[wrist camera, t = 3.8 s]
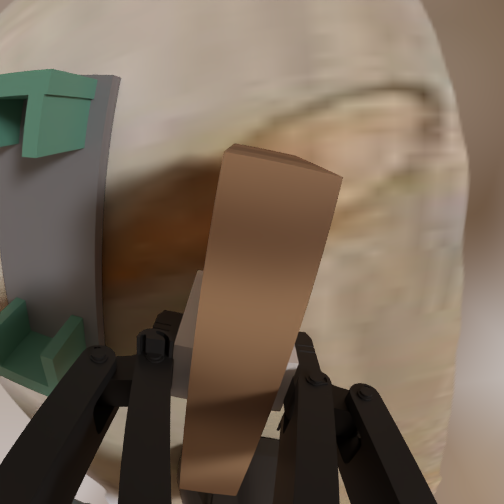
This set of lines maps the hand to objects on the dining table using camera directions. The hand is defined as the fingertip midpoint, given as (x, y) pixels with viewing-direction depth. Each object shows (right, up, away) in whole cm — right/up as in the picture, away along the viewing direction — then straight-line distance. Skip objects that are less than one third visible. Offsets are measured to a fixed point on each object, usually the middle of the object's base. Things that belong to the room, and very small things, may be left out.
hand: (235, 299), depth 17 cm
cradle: (-13, +4, +2) cm, 14 cm away
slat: (0, 0, 0) cm, 1 cm away
